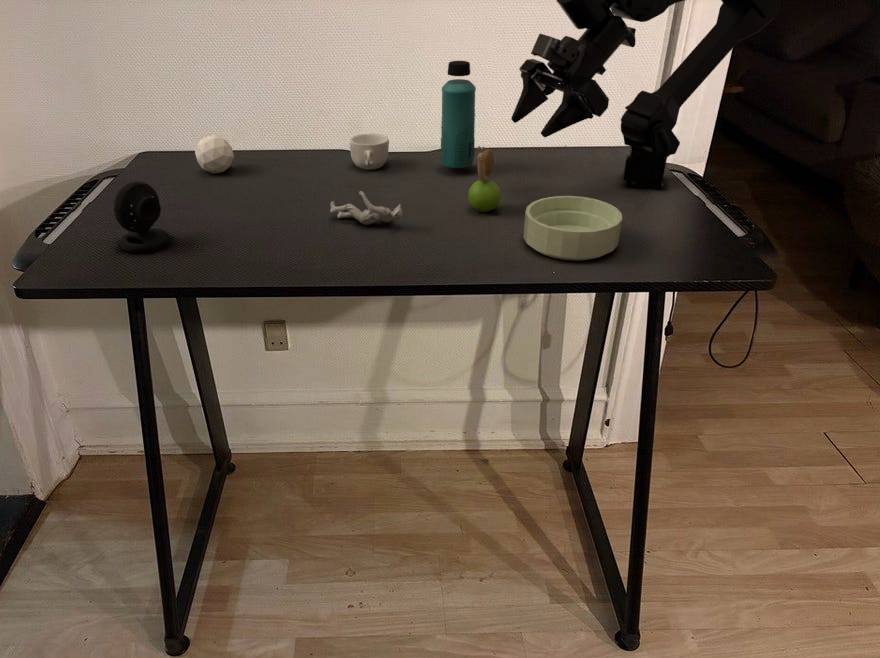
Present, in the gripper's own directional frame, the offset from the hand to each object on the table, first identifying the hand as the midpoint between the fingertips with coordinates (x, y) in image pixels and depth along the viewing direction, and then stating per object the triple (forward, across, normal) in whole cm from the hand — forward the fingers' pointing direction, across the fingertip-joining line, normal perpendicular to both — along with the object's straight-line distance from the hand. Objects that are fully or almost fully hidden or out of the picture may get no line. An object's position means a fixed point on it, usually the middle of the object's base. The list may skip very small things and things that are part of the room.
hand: (527, 128), depth 118 cm
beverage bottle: (+11, -21, +8) cm, 25 cm away
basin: (+10, +17, +8) cm, 22 cm away
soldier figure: (+29, -4, -10) cm, 31 cm away
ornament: (+41, -40, -22) cm, 62 cm away
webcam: (+53, -11, -34) cm, 64 cm away
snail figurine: (+15, 0, +4) cm, 15 cm away
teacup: (+21, -29, -2) cm, 36 cm away
